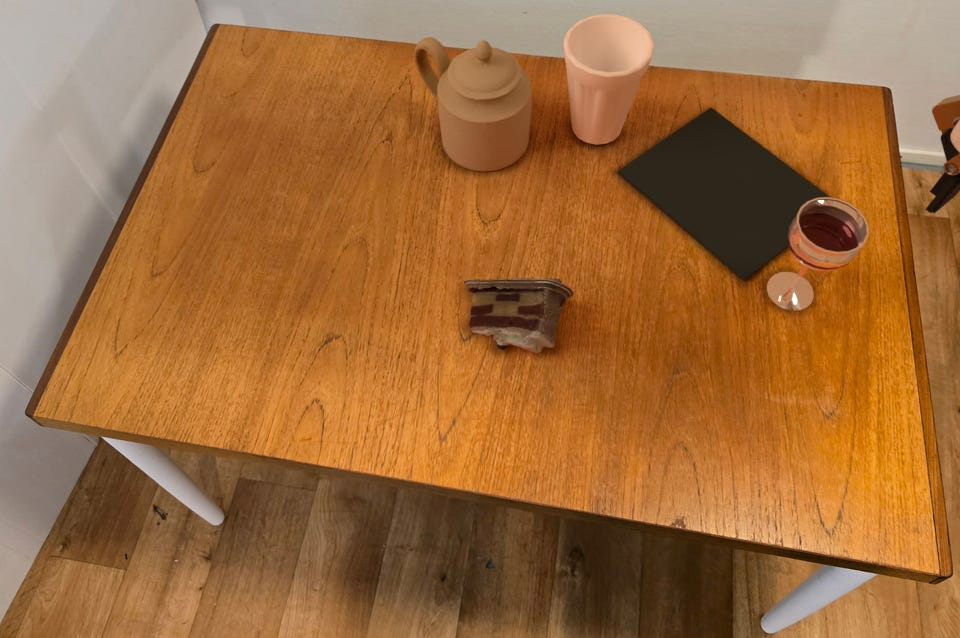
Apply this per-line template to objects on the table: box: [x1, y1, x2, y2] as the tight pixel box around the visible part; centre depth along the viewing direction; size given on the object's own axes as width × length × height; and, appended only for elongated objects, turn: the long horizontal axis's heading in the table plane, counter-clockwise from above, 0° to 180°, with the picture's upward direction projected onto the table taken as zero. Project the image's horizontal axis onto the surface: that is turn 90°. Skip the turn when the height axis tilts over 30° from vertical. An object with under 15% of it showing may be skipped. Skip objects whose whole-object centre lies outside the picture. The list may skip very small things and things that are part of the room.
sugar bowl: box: [413, 36, 533, 173], centre depth 87 cm, size 15×11×15 cm
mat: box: [617, 107, 832, 282], centre depth 88 cm, size 20×16×1 cm
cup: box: [563, 13, 656, 146], centre depth 88 cm, size 10×10×13 cm
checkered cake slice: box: [462, 277, 574, 354], centre depth 78 cm, size 10×7×12 cm
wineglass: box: [766, 196, 870, 312], centre depth 76 cm, size 7×7×12 cm
